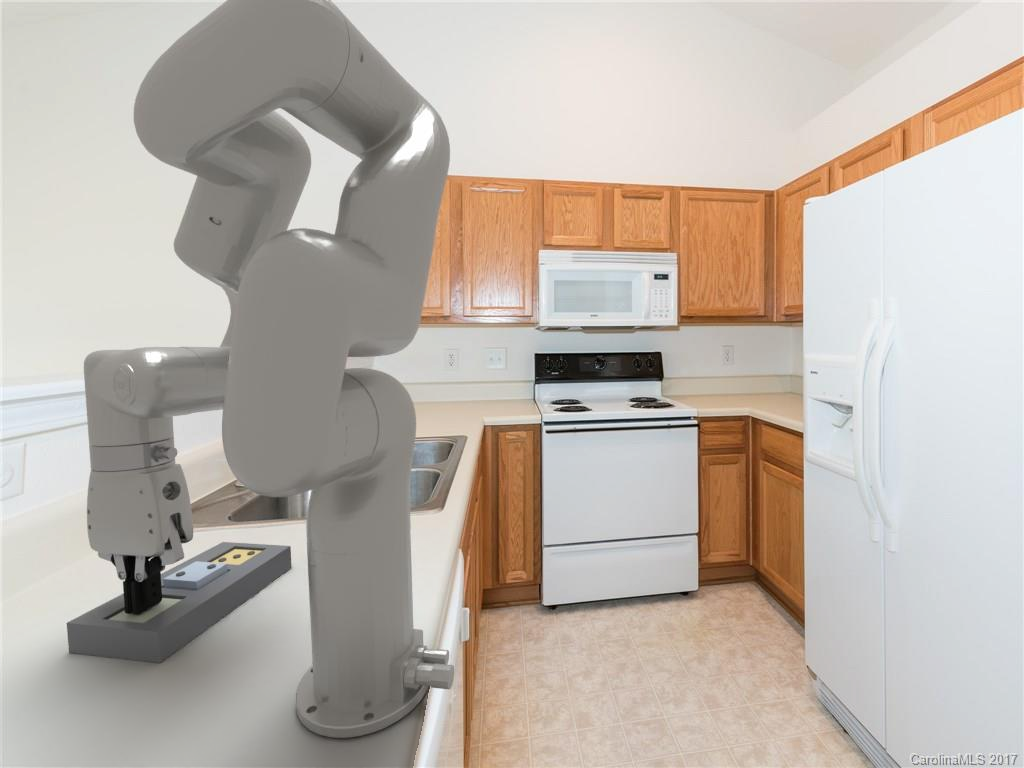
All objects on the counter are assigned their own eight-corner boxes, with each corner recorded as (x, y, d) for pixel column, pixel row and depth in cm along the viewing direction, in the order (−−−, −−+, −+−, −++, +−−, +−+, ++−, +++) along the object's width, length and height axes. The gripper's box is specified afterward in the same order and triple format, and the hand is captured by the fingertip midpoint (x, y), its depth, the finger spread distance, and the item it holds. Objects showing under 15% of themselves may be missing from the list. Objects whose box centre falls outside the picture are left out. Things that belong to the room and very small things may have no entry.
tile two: (228, 577, 62) (227, 562, 62) (197, 596, 57) (196, 580, 57) (197, 575, 63) (196, 559, 63) (164, 593, 58) (162, 577, 58)
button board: (291, 567, 70) (290, 545, 70) (160, 663, 49) (157, 632, 48) (224, 563, 72) (222, 541, 72) (69, 652, 51) (66, 622, 50)
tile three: (264, 563, 69) (263, 549, 69) (239, 579, 64) (238, 564, 64) (235, 561, 70) (235, 547, 70) (209, 577, 65) (208, 562, 65)
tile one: (184, 615, 56) (183, 598, 55) (145, 640, 51) (143, 621, 50) (149, 612, 56) (148, 595, 56) (108, 636, 51) (106, 618, 51)
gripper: (216, 450, 55) (224, 596, 56) (114, 447, 57) (123, 586, 58) (159, 466, 47) (169, 633, 49) (43, 461, 50) (56, 620, 51)
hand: (144, 607), depth 53 cm, fingers closed
